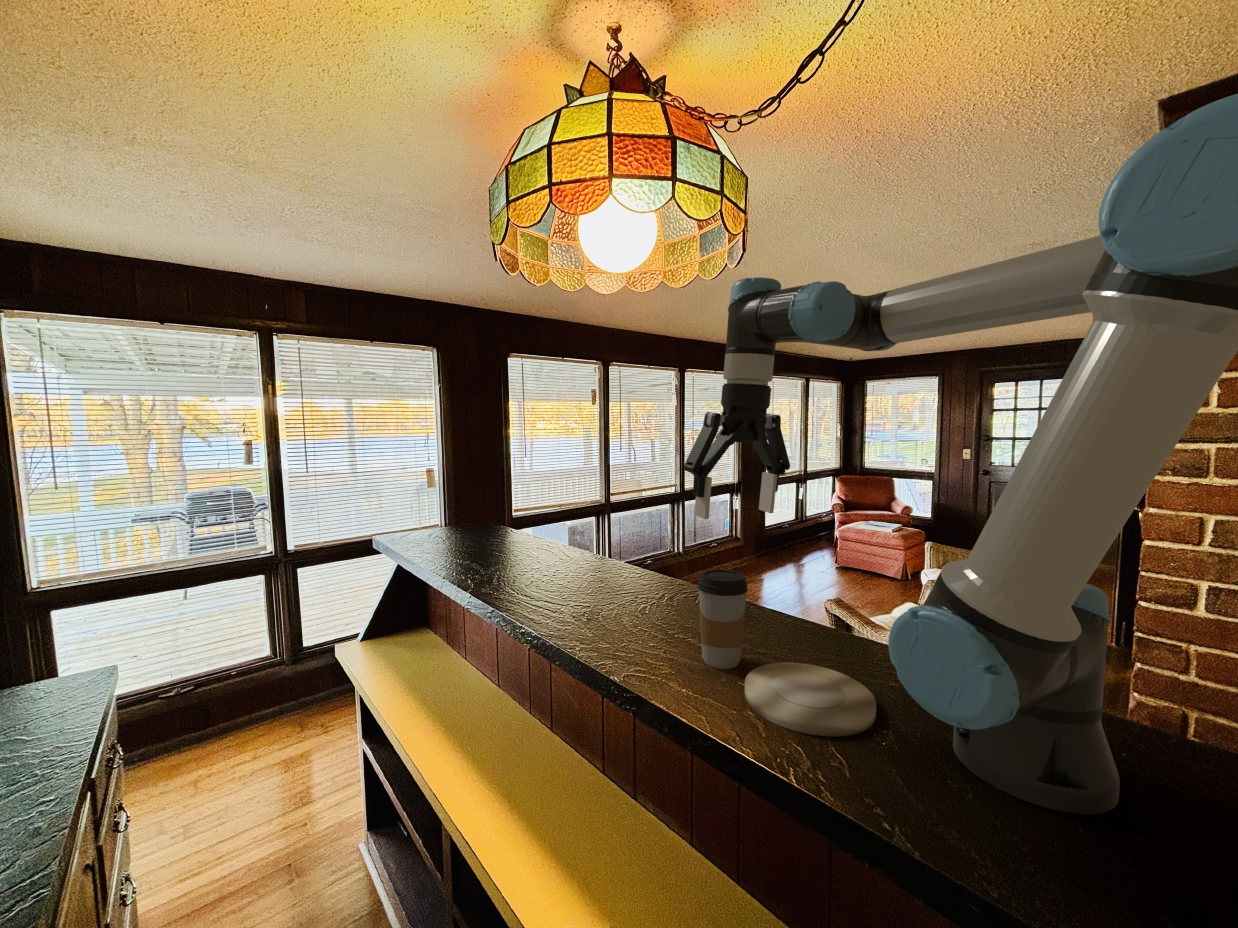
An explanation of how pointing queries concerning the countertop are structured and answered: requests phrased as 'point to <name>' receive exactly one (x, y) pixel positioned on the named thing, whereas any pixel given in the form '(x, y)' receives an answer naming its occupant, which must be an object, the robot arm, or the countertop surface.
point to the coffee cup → (722, 616)
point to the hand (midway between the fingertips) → (734, 514)
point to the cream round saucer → (810, 699)
